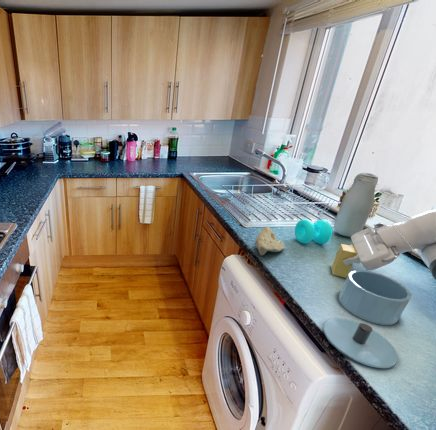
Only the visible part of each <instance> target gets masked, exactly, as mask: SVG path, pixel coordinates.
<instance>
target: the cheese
mask: <svg viewBox="0 0 436 430" xmlns="http://www.w3.org/2000/svg"><path fill="white" fill-rule="evenodd" d="M254 245H255V247H256V249H257V250H258V253H259V255H260V256H264V255H265V254H266V253H267V252H270V253H278V252H281V251H284V250H285V248H286V246H285V244H284V243H283V242H282V241H281V240H278V239H277V237H276V234H275V233H274V231H273V230H272V228H271V227H270V226H264V227H263V228H262V229H261V230H260V231H259V233H258V235H257V236H256V240H255V242H254Z"/></svg>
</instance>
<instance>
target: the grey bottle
mask: <svg viewBox="0 0 436 430" xmlns="http://www.w3.org/2000/svg"><path fill="white" fill-rule="evenodd" d="M378 182H379V176H377V175H376V174H373V173H369V172H360V173H357V174H356V176H355V177H354V179H353V183H352V185H351V186H350V187H349V189H348V190H347V192H346V193H345V194H344V196H343V197H342V199H341V202H340V205H339V208H338V212H337V214H336V216H335V219H334V222H333V223H334V224H333V228H334V232H336V233H337V234H338V235H340V236H343V237H349V238H351V236H352V235H353V234H355V233H357V232H360V231H362V230H364V229H365V226H366V223H367V221H368V220H369V216H370V214H371V212H372V210H373V208H374V204H375V191H376V186H377V184H378Z"/></svg>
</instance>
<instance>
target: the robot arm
mask: <svg viewBox="0 0 436 430" xmlns="http://www.w3.org/2000/svg"><path fill="white" fill-rule="evenodd" d="M350 239H351V242H352V243H351V244H349V245H350V246H354V247H355V250H356V252H357V256H354V257H353V258H348V257H347V258H345V259H343V263H344V264H345V265H349V264H353V265H357V264H361V265H362V266H363V268H364V269H365V271H374V270H377V269H379V268H382V267H385V266H387V265H389V264H391V263H393V262H394V261H395V260H396V259H397V258H398V257H399V256H400V255H401V254H404V253H407V252H410V251H413V250H416V251H417V254H418V255H419V257H420V258H421V260H422V261H423V263H424V264H425V265H426V266H427V268H428V269H429V272H430V274H431V276H432V277H433V278H434V280H436V208H435V209H431V210H430V209H429V210H427V211H424V212H421V213H419V214H416V215H413V216H411V217H409V218H407V219H405V220H404V221H401V222H395V223H393V224H385V223H382V222H378V223H375V224H373V225H372V226H370V227H367V228H363V230H362V231H360V232H357V233H355V234H353V235H352V236H351V237H350Z"/></svg>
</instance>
